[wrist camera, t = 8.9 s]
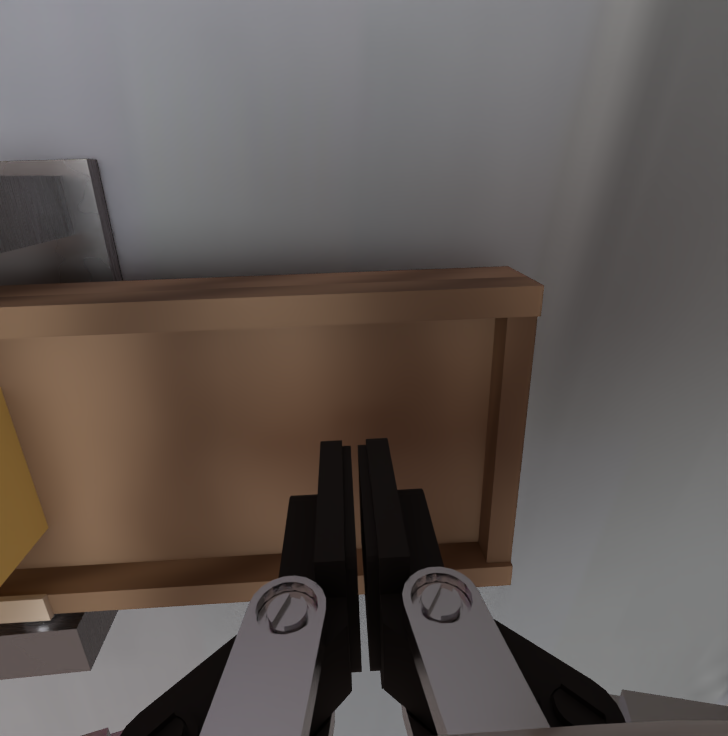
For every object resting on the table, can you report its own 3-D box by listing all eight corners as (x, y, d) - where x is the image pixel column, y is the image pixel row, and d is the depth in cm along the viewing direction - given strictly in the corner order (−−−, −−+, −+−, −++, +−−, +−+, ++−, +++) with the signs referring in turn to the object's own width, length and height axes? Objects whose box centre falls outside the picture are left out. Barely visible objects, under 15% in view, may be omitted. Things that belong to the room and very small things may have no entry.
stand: (96, 159, 17) (-42, 150, 11) (177, 536, 24) (123, 677, 17) (-51, 163, 17) (-288, 156, 10) (71, 544, 23) (-26, 692, 17)
